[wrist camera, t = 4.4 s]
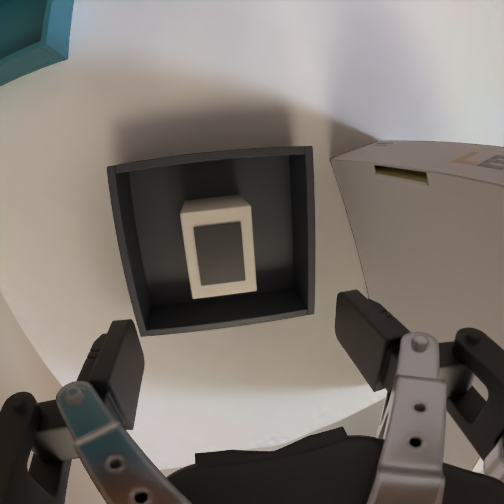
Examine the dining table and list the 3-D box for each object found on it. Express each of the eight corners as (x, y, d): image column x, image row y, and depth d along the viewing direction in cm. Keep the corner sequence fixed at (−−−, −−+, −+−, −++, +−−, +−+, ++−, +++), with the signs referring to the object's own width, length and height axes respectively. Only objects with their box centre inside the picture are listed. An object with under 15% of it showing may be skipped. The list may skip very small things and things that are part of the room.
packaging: (418, 361, 36) (502, 453, 17) (383, 383, 36) (460, 487, 17) (382, 139, 25) (581, 160, 6) (328, 159, 25) (544, 197, 6)
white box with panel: (193, 270, 25) (192, 300, 20) (184, 200, 23) (179, 213, 18) (245, 263, 26) (257, 292, 21) (239, 194, 24) (251, 205, 19)
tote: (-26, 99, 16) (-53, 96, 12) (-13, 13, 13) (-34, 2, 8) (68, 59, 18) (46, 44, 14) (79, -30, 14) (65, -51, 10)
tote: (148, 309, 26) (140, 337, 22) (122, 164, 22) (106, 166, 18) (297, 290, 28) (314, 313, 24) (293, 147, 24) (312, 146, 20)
